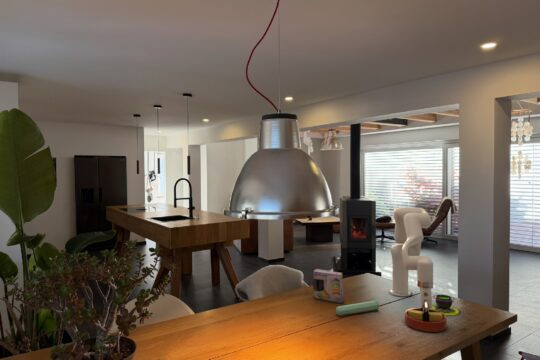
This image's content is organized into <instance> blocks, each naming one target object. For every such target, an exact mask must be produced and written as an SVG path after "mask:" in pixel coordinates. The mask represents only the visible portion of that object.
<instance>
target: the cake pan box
mask: <svg viewBox="0 0 540 360" xmlns="http://www.w3.org/2000/svg"><path fill="white" fill-rule="evenodd" d="M343 276H344V275H343V272H339V271H333V270H326V269H320V268H316V269H314V270H313V280H312V289H313V293H314V299H318V300H322V301H327V302H333V303H339V304H342V303H343V302H345V296H344V279H343Z"/></svg>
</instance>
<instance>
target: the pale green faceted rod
mask: <svg viewBox="0 0 540 360" xmlns="http://www.w3.org/2000/svg"><path fill="white" fill-rule="evenodd" d="M379 310H380V304H379V302H378V300H377V299H373V300H370V301H363V302H356V303H351V304H345V305H339V306H336V308H335V313H336V315H337V316H339V317H342V316H348V315H354V314H359V313H360V314H361V313H367V312H371V311H375V312H378V311H379Z"/></svg>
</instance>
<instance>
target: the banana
mask: <svg viewBox="0 0 540 360" xmlns="http://www.w3.org/2000/svg"><path fill="white" fill-rule="evenodd" d="M422 313H423V312H422V311H416V310H409V317H411V318H414V319H419V320H422ZM429 321H443V315H442V314H441V313H437V312H429Z"/></svg>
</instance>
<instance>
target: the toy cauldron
mask: <svg viewBox="0 0 540 360" xmlns="http://www.w3.org/2000/svg"><path fill="white" fill-rule="evenodd" d="M449 294H450V295H447V294H441V293H440V294H439V293H438V291H436V294H435V295H433V296H432V298H434V299H435V301H434V302H435V305H432V308H431V309H432V310H435V311H438V312H441V313H443V314H444V315H445V316H456V315H458V314H460V313H459V312H460V311H459V310H458V309H457V308H455V307H452V305H453V303H455V300H456V298H455V297H453V296H452V293H450V292H449ZM429 309H430V308H429Z"/></svg>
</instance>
